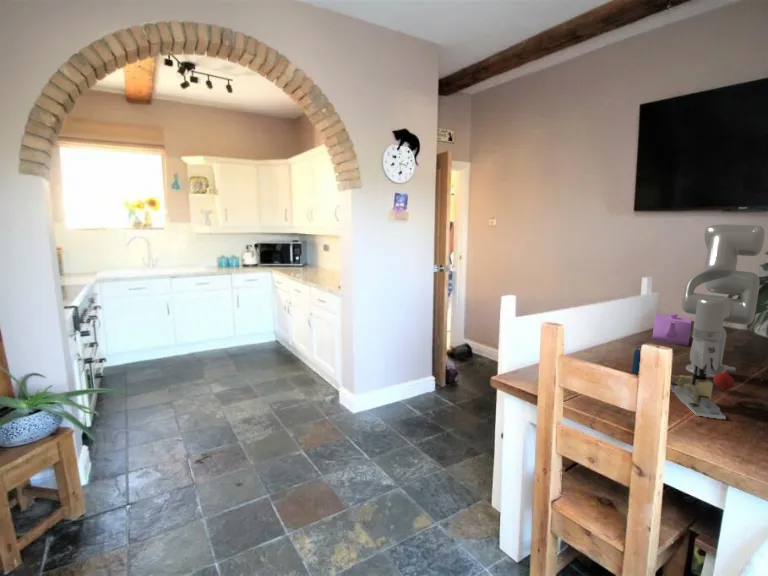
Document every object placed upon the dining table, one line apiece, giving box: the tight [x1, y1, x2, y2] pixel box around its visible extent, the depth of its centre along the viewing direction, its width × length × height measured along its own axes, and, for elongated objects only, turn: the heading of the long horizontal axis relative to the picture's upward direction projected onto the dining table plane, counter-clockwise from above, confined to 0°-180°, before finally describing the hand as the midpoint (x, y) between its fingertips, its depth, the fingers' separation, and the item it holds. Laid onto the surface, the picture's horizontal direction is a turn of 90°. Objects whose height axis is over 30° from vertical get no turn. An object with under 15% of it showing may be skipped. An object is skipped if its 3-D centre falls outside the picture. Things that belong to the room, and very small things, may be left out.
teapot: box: [651, 312, 692, 347], centre depth 209 cm, size 15×25×14 cm, turn 145°
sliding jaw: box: [683, 379, 714, 401], centre depth 138 cm, size 8×2×7 cm, turn 73°
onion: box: [712, 370, 735, 392], centre depth 149 cm, size 6×6×8 cm
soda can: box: [631, 346, 642, 375], centre depth 159 cm, size 7×7×12 cm
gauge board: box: [670, 374, 726, 421], centre depth 141 cm, size 8×26×5 cm, turn 163°
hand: (698, 385), depth 141 cm, fingers closed
